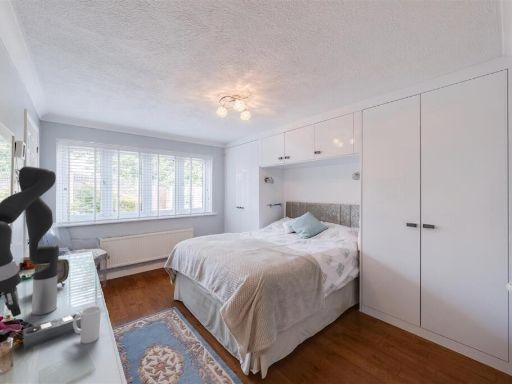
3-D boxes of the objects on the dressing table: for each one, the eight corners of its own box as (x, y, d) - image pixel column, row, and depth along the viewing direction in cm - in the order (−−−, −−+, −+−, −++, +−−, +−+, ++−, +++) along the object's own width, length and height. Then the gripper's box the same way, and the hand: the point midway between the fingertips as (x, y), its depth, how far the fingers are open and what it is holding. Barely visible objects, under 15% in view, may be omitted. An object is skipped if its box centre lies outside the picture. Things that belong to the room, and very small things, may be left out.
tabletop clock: (43, 295, 134) (45, 251, 134) (31, 293, 136) (32, 250, 136) (68, 285, 148) (69, 246, 148) (57, 283, 150) (58, 245, 150)
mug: (103, 333, 101) (103, 305, 101) (94, 343, 94) (95, 314, 94) (77, 334, 99) (78, 306, 99) (67, 345, 93) (68, 315, 93)
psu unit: (22, 341, 94) (23, 328, 94) (82, 321, 109) (83, 310, 109) (24, 349, 89) (25, 336, 89) (87, 327, 105) (87, 315, 105)
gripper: (19, 277, 81) (32, 318, 85) (17, 263, 89) (29, 300, 94) (-14, 288, 75) (2, 330, 80) (-13, 271, 84) (2, 311, 89)
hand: (17, 314), depth 87 cm, fingers closed
